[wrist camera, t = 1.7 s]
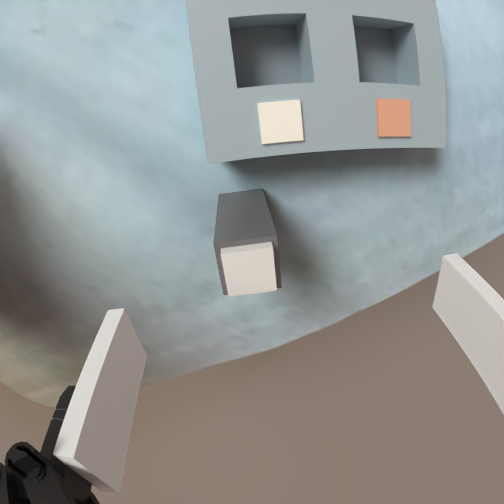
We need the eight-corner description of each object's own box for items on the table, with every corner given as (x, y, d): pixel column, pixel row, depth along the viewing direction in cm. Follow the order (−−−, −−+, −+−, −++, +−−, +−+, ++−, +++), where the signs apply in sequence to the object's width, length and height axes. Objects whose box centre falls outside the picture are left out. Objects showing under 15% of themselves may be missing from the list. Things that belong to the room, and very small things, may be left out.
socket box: (212, 152, 27) (208, 165, 22) (192, 4, 20) (183, -15, 15) (417, 137, 27) (447, 148, 22) (406, 5, 20) (436, -5, 15)
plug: (225, 233, 30) (223, 302, 21) (218, 194, 29) (212, 249, 19) (266, 228, 30) (283, 294, 21) (262, 188, 29) (278, 240, 19)
